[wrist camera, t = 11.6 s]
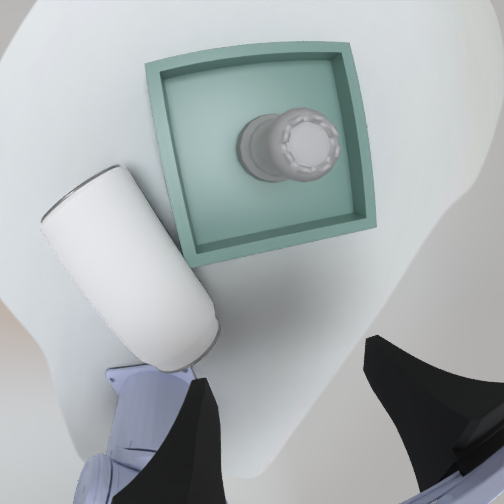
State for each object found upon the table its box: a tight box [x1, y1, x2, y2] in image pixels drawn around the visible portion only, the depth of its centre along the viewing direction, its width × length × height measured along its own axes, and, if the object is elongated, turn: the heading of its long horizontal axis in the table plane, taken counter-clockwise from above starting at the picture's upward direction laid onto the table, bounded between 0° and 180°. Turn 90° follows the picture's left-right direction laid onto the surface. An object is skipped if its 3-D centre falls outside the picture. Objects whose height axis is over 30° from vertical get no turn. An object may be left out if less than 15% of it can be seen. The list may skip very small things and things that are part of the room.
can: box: [40, 165, 221, 374], centre depth 17 cm, size 6×6×12 cm
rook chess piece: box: [236, 107, 341, 183], centre depth 14 cm, size 4×4×8 cm
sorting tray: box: [145, 41, 377, 268], centre depth 17 cm, size 13×13×2 cm
